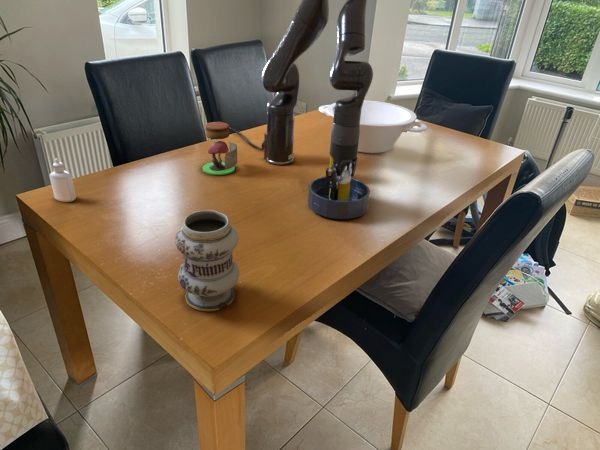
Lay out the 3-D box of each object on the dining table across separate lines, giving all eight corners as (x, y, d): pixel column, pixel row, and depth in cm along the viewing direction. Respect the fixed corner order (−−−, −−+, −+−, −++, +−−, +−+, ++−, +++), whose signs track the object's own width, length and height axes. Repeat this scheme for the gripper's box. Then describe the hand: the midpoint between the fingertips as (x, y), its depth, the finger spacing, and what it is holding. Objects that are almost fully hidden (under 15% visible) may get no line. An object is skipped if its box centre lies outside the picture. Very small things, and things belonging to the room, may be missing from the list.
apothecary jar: (205, 324, 85) (199, 244, 76) (168, 295, 92) (158, 219, 83) (252, 296, 93) (251, 220, 84) (214, 271, 100) (211, 199, 91)
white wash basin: (434, 146, 180) (440, 113, 174) (405, 173, 155) (411, 135, 148) (337, 124, 199) (340, 93, 192) (297, 145, 173) (298, 110, 167)
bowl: (296, 208, 128) (297, 189, 125) (327, 188, 140) (328, 171, 137) (349, 228, 120) (351, 208, 117) (377, 205, 132) (380, 186, 129)
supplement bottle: (351, 206, 129) (355, 173, 124) (334, 209, 126) (338, 176, 121) (341, 198, 133) (345, 165, 128) (325, 201, 131) (328, 168, 126)
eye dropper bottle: (62, 204, 123) (52, 164, 117) (53, 198, 126) (43, 157, 120) (78, 200, 126) (69, 159, 120) (69, 193, 129) (60, 154, 123)
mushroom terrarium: (201, 178, 142) (198, 132, 135) (200, 163, 153) (198, 119, 146) (239, 176, 145) (238, 131, 137) (235, 162, 156) (234, 119, 148)
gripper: (345, 130, 127) (339, 184, 135) (318, 143, 117) (314, 201, 125) (369, 135, 124) (362, 191, 132) (344, 149, 113) (337, 209, 121)
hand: (338, 195), depth 128 cm, fingers closed on supplement bottle, 5 cm apart
